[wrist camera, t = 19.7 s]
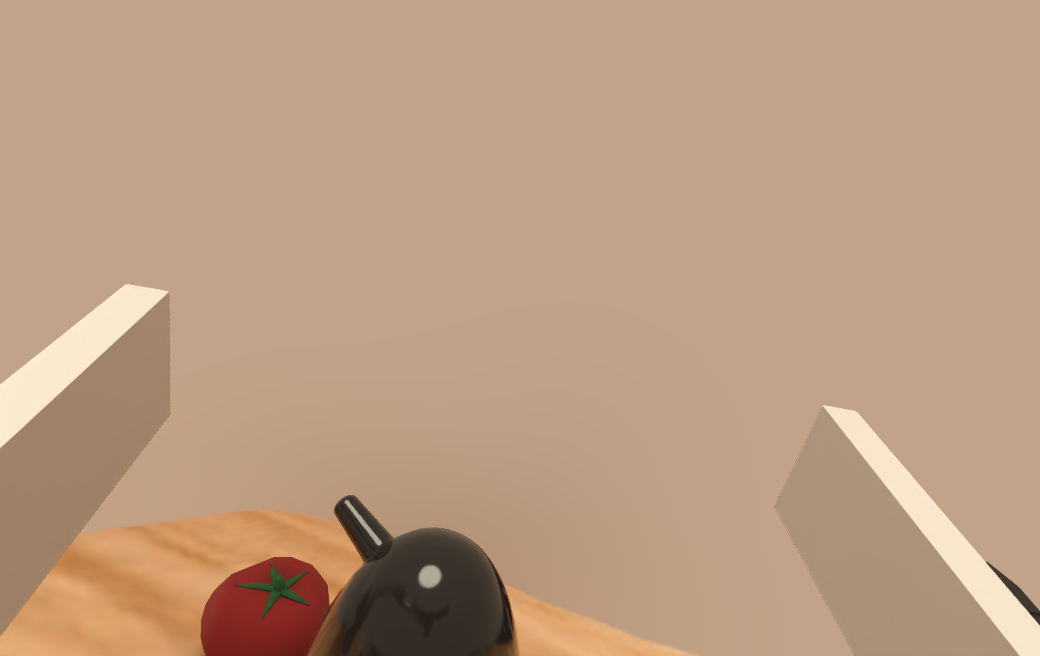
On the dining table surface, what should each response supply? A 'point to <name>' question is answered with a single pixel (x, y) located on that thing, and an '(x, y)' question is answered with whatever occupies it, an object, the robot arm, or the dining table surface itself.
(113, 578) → the dining table surface
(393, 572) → the pump dispenser
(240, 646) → the tomato
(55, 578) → the dining table surface
